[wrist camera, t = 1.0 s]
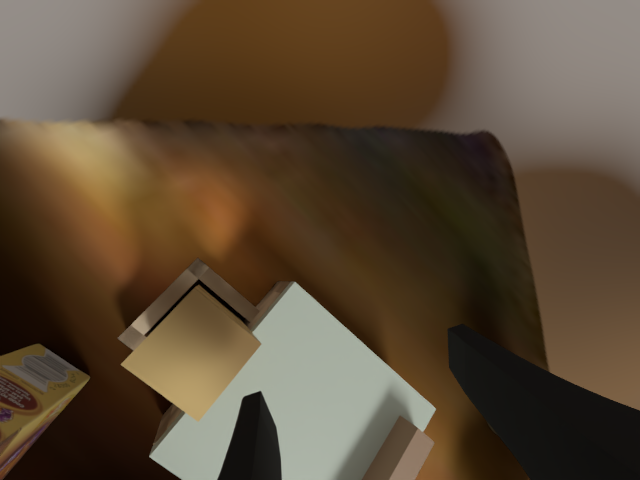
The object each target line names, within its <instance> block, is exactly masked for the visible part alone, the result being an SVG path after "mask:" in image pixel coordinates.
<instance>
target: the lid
mask: <svg viewBox="0 0 640 480" xmlns="http://www.w3.org/2000/svg"><path fill="white" fill-rule="evenodd" d="M250 331H251V332H252V333H253V334H254V336H255V337H256V338H257V339H258V340H259V341H260V343H261V345H260V347H259V348H258V349H257V350H256V352H255V353H254V354H253V355H252V357H251V358H250V359H249V360H248V361H247V363H246V364H245V365H244V366H243V368H242V369H241V370H240V371H239V373H238V374H237V375H236V376H235V378H234V379H233V380H232V381H231V382H230V384H229V385H228V386H227V387H226V389H225V390H224V391H223V392H222V394H221V395H220V396H219V397H218V398H217V400H216V401H215V402H214V403H213V405H212V406H211V407H210V408H209V410H208V411H207V412H206V413H205V414H204V416H203V417H202V418H201V419H200V421H199V422H197V421H196V420H195V419H193V418H192V417H191V416H189V415H188V414H187V413H185V412H184V411H182V412H181V413H180V415H179V416H178V417H177V418H176V419H175V421H174V422H173V423H172V424H171V425H170V427H169V428H168V429H167V430H166V431H165V433H164V434H163V435H162V436H161V437H160V438H159V440H158V441H157V442H156V443H155V444H154V446H153V447H152V449H151V452H150V455H149V457H150V458H151V459H153V460H154V461H156V462H157V463H159V464H160V465H162V466H163V467H164V468H166V469H167V470H169V471H170V472H172V473H173V474H175V475H176V476H177V477H179V478H180V479H182V480H217V479H218V476H219V474H220V471H221V468H222V465H223V462H224V459H225V456H226V453H227V450H228V447H229V444H230V441H231V438H232V435H233V431H234V428H235V424H236V421H237V417H238V413H239V410H240V406H241V401H242V399H243V397H244V396H246V395H249V394H252V393H255V392H258V391H261V392H262V394H263V397H264V399H265V401H266V404H267V406H268V408H269V411H270V413H271V415H272V418H273V420H274V422H275V425H276V427H277V434H278V441H279V448H280V456H281V470H282V480H415V478H416V476H417V475H418V473H419V471H420V469H421V467H422V465H423V463H424V462H425V460H426V458H427V456H428V454H429V452H430V450H431V448H432V447H433V445H434V443H435V442H434V441H432V440H431V439H430V438H429V437H428V436H427V435H426V434H424V433H423V431H424V430H425V428H426V426H427V424H428V422H429V421H430V419H431V417H432V415H433V413H434V412H435V410H436V408H434V407H433V406H432V405H431V404H430V403H429V402H428V401H427V400H426V399H424V398H423V397H422V396H421V395H420V394H419V393H418V392H417V391H416V390H415V389H413V388H412V387H411V386H410V385H409V384H408V383H407V382H406V381H405V380H403V379H402V378H401V377H400V376H399V375H398V374H397V373H396V372H395V371H393V370H392V369H391V368H390V367H389V366H388V365H387V364H386V363H385V362H383V361H382V360H381V359H380V358H379V357H378V356H377V355H376V354H375V353H373V352H372V351H371V350H370V349H369V348H368V347H367V346H366V345H365V344H364V343H362V342H361V341H360V340H359V339H358V338H357V337H356V336H355V335H354V334H352V333H351V332H350V331H349V330H348V329H347V328H346V327H345V326H344V325H342V324H341V323H340V322H339V321H338V320H337V319H336V318H335V317H334V316H332V315H331V314H330V313H329V312H328V311H327V310H326V309H325V308H324V307H322V306H321V305H320V304H319V303H318V302H317V301H316V300H315V299H314V298H313V297H311V296H310V295H309V294H308V293H307V292H306V291H305V290H304V289H303V288H301V287H300V286H299V285H298V284H297V283H296V282H290V284H289V285H288V286H287V287H286V288H285V289H284V291H283V292H282V293H281V294H280V295H279V297H278V298H277V299H276V300H275V301H274V303H273V304H272V305H271V306H270V307H269V309H268V310H267V311H266V312H265V313H264V315H263V316H262V317H261V318H260V319H259V320H258V322H257V323H256V324H255V325H254V326H253V328H252V329H251V330H250Z"/></svg>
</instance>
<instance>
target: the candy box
mask: <svg viewBox="0 0 640 480" xmlns="http://www.w3.org/2000/svg"><path fill="white" fill-rule="evenodd" d="M89 379H90V376H89V375H87V374H85V373H84V372H82V371H81V370H79V369H77V368H75V367H74V366H72V365H71V364H69V363H68V362H66V361H65V360H63V359H62V358H60V357H59V356H57V355H56V354H54V353H53V352H51V351H50V350H48V349H47V348H45V347H44V346H42V345H41V344H34V345H31V346H28V347H25V348H22V349H19V350H16V351H14V352H11V353H8V354H5V355H2V356H0V480H3V478H4V477H5V476H6V475H7V474H8V473H9V471H10V470H11V469H12V468H13V467H14V466H15V465H16V463H17V462H18V461H19V460H20V459H21V458H22V457H23V455H24V454H25V453H26V452H27V451H28V449H29V448H30V447H31V446H32V445H33V444H34V443H35V441H36V440H37V439H38V438H39V437H40V435H41V434H42V433H43V432H44V431H45V429H46V428H47V427H48V426H49V425H50V424H51V423H52V421H53V420H54V419H55V418H56V417H57V416H58V415H59V414H60V412H61V411H62V410H63V409H64V408H65V407H66V406H67V405H68V403H69V402H70V401H71V400H72V399H73V398H74V397H75V396H76V394H77V393H78V392H79V391H80V390H81V389H82V388H83V386H84V385H85V384H86V383H87V382H88V381H89Z"/></svg>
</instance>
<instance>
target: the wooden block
mask: <svg viewBox="0 0 640 480" xmlns="http://www.w3.org/2000/svg"><path fill="white" fill-rule="evenodd" d="M260 345H261V343H260V341H259V340H258V339H257V338H256V337H255V336H254V334H253V333H252V332H251V331H250V330H249V328H248V327H247V326H246V325H245V324H244V323H243V321H242V320H241V319H240V318H239V317H238V316H236V315H235V314H234V313H233V312H232V311H230V310H229V309H228V308H227V307H226V306H224V305H223V304H222V303H221V302H220V301H218V300H217V299H216V298H215V297H214V296H213V295H211V294H210V293H209V292H208V291H207V290H205V289H204V288H203V287H202V286H201V285H198V286H196V287H195V288H194V289H193V290H192V291H191V292H190V293H189V294H188V295H187V296H186V297H185V298H184V299H183V300H182V301H181V302H180V303H179V304H178V305H177V306H176V307H175V308H174V309H173V310H172V312H171V313H170V314H169V315H168V316H167V317H166V318H165V319H164V320H163V321H162V322H161V323H160V324H159V325H158V326H157V327H156V328H155V329H154V330H153V331H152V332H151V333H150V334H149V336H148V337H147V338H146V339H145V340H144V341H143V342H142V343H141V344H140V345H139V346H138V347H137V348H136V349H135V350H134V351H133V352H132V353H131V354H130V355H129V356H128V357H127V358H126V360H125V361H124V362H123V363H122V364H121V365H122V366H123V367H125V368H126V369H127V370H129V371H130V372H131V373H133V374H134V375H135V376H137V377H138V378H139V379H141V380H142V381H144V382H145V383H146V384H148V385H149V386H150V387H152V388H153V389H154V390H156V391H157V392H158V393H160V394H161V395H162V396H164V397H165V398H166V399H168V400H169V401H170V402H172V403H173V404H174V405H176V406H177V407H179V408H180V409H181V410H183V411H184V412H185V413H187V414H188V415H189V416H191V417H192V418H193V419H195V420H196V421H197V422H199V421H200V419H201V418H202V417H203V416H204V414H205V413H206V412H207V411H208V410H209V408H210V407H211V406H212V405H213V403H214V402H215V401H216V400H217V398H218V397H219V396H220V395H221V394H222V392H223V391H224V390H225V389H226V387H227V386H228V385H229V384H230V382H231V381H232V380H233V379H234V378H235V376H236V375H237V374H238V373H239V371H240V370H241V369H242V368H243V366H244V365H245V364H246V363H247V361H248V360H249V359H250V358H251V357H252V355H253V354H254V353H255V352H256V350H257V349H258V348H259V347H260Z"/></svg>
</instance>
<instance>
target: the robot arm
mask: <svg viewBox="0 0 640 480" xmlns="http://www.w3.org/2000/svg"><path fill="white" fill-rule="evenodd" d="M448 350H449V368H450V370H451V371H452V373H453V374H454V376H455V378H456V379H457V381H458V383H459V384H460V386H461V387H462V389H463V391H464V392H465V394H466V395H467V396H468V397H469V399H470V400H471V401H472V403H473V404H474V405H475V407H476V408H477V409H478V410H479V412H480V413H481V414H482V415H483V417H484V418H485V419H486V421H487V422H488V423H489V424H490V426H491V427H492V428H493V429H494V431H495V432H496V433H497V435H498V436H499V437H500V438H501V440H502V441H503V442H504V443H505V445H506V446H507V447H508V448H509V450H510V451H511V452H512V454H513V455H514V456H515V458H516V459H517V461H518V462H519V463H520V465H521V466H522V468H523V469H524V471H525V472H526V474H527V475H528V477H529V478H530V480H640V411H639V410H637V409H634V408H631V407H628V406H626V405H623V404H620V403H618V402H615V401H613V400H610V399H608V398H605V397H603V396H601V395H598V394H596V393H593V392H591V391H589V390H586V389H584V388H582V387H580V386H577V385H575V384H573V383H571V382H568V381H566V380H564V379H562V378H560V377H558V376H556V375H554V374H552V373H550V372H548V371H546V370H544V369H542V368H540V367H538V366H536V365H534V364H532V363H530V362H528V361H526V360H525V359H523V358H521V357H519V356H517V355H515V354H514V353H512V352H510V351H508V350H506V349H505V348H503V347H501V346H499V345H498V344H496V343H494V342H493V341H491V340H489V339H487V338H486V337H484V336H482V335H481V334H479V333H477V332H475V331H474V330H472V329H470V328H469V327H467V326H465V325H463V324H461V325H458V326H455V327H452V328H449V329H448ZM217 480H282V470H281V456H280V448H279V441H278V434H277V427H276V425H275V422H274V420H273V418H272V415H271V413H270V411H269V408H268V406H267V404H266V401H265V399H264V397H263V394H262V392H261V391H258V392H255V393H252V394H249V395H246V396H244V397H243V399H242V401H241V406H240V410H239V413H238V417H237V421H236V424H235V428H234V431H233V435H232V438H231V441H230V444H229V447H228V450H227V453H226V456H225V459H224V462H223V465H222V468H221V471H220V474H219V476H218V479H217Z"/></svg>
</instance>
